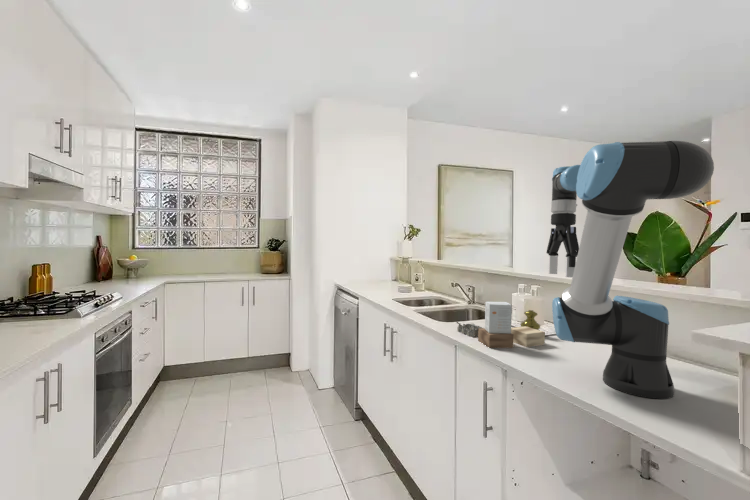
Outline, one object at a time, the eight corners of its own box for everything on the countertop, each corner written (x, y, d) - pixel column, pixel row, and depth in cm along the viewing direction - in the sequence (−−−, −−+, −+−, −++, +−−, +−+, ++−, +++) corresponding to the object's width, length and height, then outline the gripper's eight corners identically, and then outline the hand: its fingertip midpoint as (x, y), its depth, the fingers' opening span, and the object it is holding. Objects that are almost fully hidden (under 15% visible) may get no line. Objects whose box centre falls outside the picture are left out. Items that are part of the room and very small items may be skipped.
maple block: (544, 345, 132) (544, 331, 132) (526, 347, 128) (526, 333, 128) (525, 339, 140) (525, 326, 140) (507, 341, 137) (508, 328, 137)
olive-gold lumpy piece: (517, 332, 150) (518, 308, 149) (535, 332, 150) (536, 308, 149) (524, 337, 142) (525, 312, 142) (543, 337, 142) (544, 312, 142)
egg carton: (454, 330, 150) (455, 321, 150) (470, 330, 152) (470, 320, 152) (468, 337, 140) (469, 327, 140) (485, 336, 142) (485, 326, 142)
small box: (505, 329, 133) (507, 301, 133) (511, 334, 128) (512, 304, 127) (484, 329, 133) (485, 301, 133) (488, 333, 128) (489, 304, 127)
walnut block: (513, 348, 127) (513, 334, 127) (489, 348, 126) (489, 334, 126) (500, 341, 136) (500, 328, 136) (478, 341, 135) (478, 328, 135)
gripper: (594, 210, 110) (591, 279, 110) (559, 216, 135) (556, 273, 135) (568, 209, 110) (566, 278, 111) (538, 216, 135) (536, 272, 136)
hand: (561, 275), depth 123 cm, fingers open, 13 cm apart
